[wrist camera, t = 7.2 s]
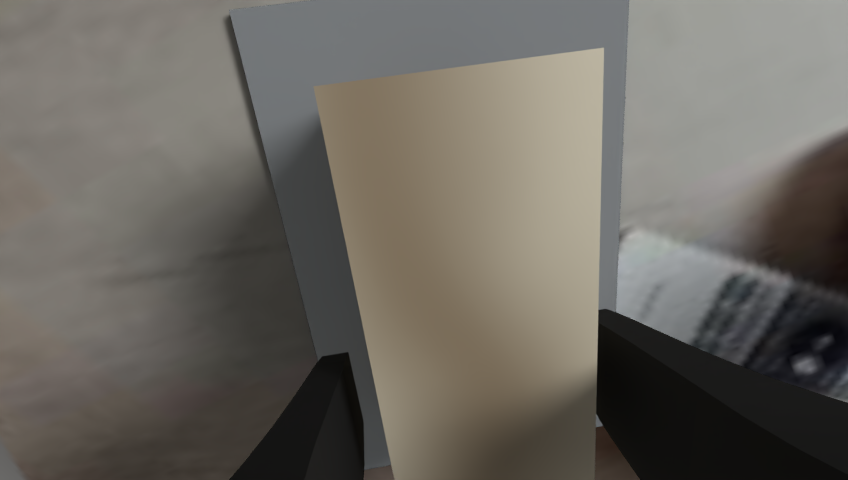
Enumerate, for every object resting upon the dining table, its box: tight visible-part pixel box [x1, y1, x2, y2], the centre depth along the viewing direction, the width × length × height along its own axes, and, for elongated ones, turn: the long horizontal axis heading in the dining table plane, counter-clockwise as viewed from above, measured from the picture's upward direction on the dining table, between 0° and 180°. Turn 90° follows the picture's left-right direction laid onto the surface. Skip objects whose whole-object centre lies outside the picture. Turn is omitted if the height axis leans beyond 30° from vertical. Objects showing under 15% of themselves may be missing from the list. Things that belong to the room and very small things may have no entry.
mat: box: [229, 0, 629, 470], centre depth 16 cm, size 12×18×1 cm, turn 7°
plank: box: [313, 48, 604, 480], centre depth 10 cm, size 4×13×4 cm, turn 7°
